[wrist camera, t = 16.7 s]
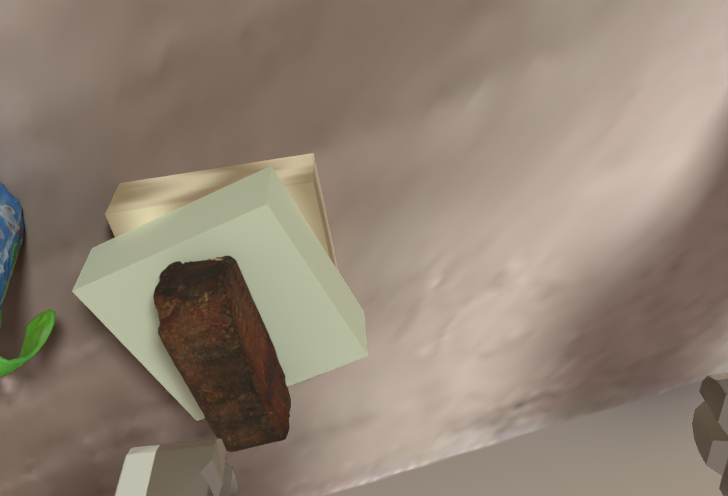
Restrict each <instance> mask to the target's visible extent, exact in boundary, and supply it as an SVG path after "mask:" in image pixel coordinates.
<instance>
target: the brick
mask: <svg viewBox="0 0 728 496" xmlns="http://www.w3.org/2000/svg"><path fill="white" fill-rule="evenodd" d="M159 280H160V281H159V283H158V284H157V286H156V287H155V291H154V295H153V298H154V304H155V308H156V309H157V311H158V317H159V321H160V325H159V327H158V334H159V336H160V339H161V341H162V343H163V345H164V347H165V348H166V350H167V352H168V354H169V355H170V357H171V359H172V361H173V363H174V365H175V366H176V368H177V370H178V371H179V373H180V374H181V376H182V378H183V380H184V381H185V383H186V385H187V386H188V388H189V390H190V392H191V393H192V395H193V397H194V399H195V400H196V402H197V404H198V406H199V408H200V409H201V411H202V412H203V414H204V416H205V418H206V419H207V421H208V422H209V424H210V428H211V429H212V430H213V432H214V433H215V434H216V436H217V438H218V439H222V441H223V444H224V446H225V448H226V450H227V451H230V452H234V451H239V450H243V449H247V448H251V447H255V446H259V445H263V444H267V443H272V442H277V441H281V440H284V439H286V437H287V434H288V431H289V417H290V414H289V411H290V407H291V399H290V395H289V391H288V387H287V386H286V381H285V377H286V376H285V374H284V372H283V369H282V367H281V365H280V363H279V360H278V357H277V354H276V351H275V347H274V345H273V343H272V340H271V338H270V336H269V333H268V331H267V329H266V326H265V324H264V322H263V320H262V318H261V315H260V313H259V311H258V309H257V307H256V304H255V302H254V300H253V298H252V296H251V293H250V291H249V288H248V286H247V284H246V282H245V280H244V277H243V275H242V273H241V270H240V268H239V266H238V263H237V261H236V260H235V259H234V258H232V257H231V256H223V257H217V258H213V259H208V260H202V261H194V262H193V261H190V262H185V263H184V264H183V263H181V262H180V261H177V262H174V263H171V264H170V265H168V266H167V267H166V269H164V270H163V271H162V272H161V273H160V276H159Z"/></svg>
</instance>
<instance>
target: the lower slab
mask: <svg viewBox="0 0 728 496" xmlns="http://www.w3.org/2000/svg"><path fill="white" fill-rule="evenodd" d="M270 166H272V168H273V169H274V171H275V172H276V174H277V176H278V177H279V179H280V180H281V182H282V183H283V185H284V187H285V188H286V190H287V191H288V193H289V194H290V196H291V198H292V199H293V201H294V202H295V204H296V206H297V207H298V209H299V210H300V212H301V213H302V215H303V217H304V218H305V220H306V221H307V223H308V224H309V226H310V228H311V229H312V231H313V232H314V234H315V235H316V237H317V239H318V240H319V242H320V243H321V245H322V247H323V248H324V250H325V251H326V253H327V254H328V256H329V258H330V259H331V261H332V262H333V264H334V265H335V267H336V269H337V270H338V267H337V262H336V258H335V253H334V248H333V243H332V239H331V234H330V229H329V224H328V219H327V215H326V210H325V205H324V200H323V196H322V191H321V186H320V181H319V176H318V172H317V167H316V162H315V157H314V153H311V154H305V155H298V156H292V157H286V158H279V159H273V160H267V161H260V162H254V163H247V164H241V165H235V166H228V167H222V168H215V169H209V170H203V171H196V172H190V173H183V174H177V175H171V176H164V177H158V178H151V179H145V180H139V181H132V182H126V183H119V185H118V188H117V190H116V192H115V194H114V196H113V198H112V200H111V202H110V204H109V207H108V209H107V211H106V213H105V216H106V218H107V220H108V222H109V225H110V227H111V229H112V232H113V234H114V236H115V237H117V236H119V235H122V234H124V233H126V232H128V231H130V230H132V229H135V228H137V227H139V226H141V225H143V224H146V223H148V222H150V221H152V220H154V219H156V218H159V217H161V216H163V215H165V214H167V213H169V212H172V211H174V210H176V209H178V208H180V207H183V206H185V205H187V204H189V203H191V202H193V201H196V200H198V199H200V198H202V197H204V196H206V195H209V194H211V193H213V192H215V191H217V190H219V189H222V188H224V187H226V186H228V185H230V184H233V183H235V182H237V181H239V180H241V179H243V178H246V177H248V176H250V175H252V174H254V173H256V172H259V171H261V170H263V169H265V168H267V167H270Z"/></svg>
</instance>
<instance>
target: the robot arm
mask: <svg viewBox="0 0 728 496" xmlns="http://www.w3.org/2000/svg"><path fill="white" fill-rule="evenodd" d="M700 393H701V395H702V396H703V398H704V400H705V401H704V402H703V403H702V404H701V405H700V406H699V407H698V408H696V409H695V412H694V417H693V423H692V425H693V432H694V439H695V442H696V445H697V448H698V450H699V453H700V455H701V456H702V458H703V460H704V462H705V464H706V465H707V466H708V467H710V468H711V469H713V470H714V471H716V472H718V473H719V474H721V475H722V479H721V483H720V488H719V489H720V490H721V492H722V494H723V495H724V496H728V373H724V374H717V375H710V376H707V377H706V378H705V379H704V380H703V381H702V384H701V388H700ZM226 452H227V451H226V448H225V446H224V444H223V441H222V439H209V440H199V441H189V442H179V443H169V444H161V445H152V446H143V447H134V448H131V449H130V451H129V452H128V454H127V455H126V457H125V460H124V463H123V467H122V470H121V474H120V478H119V481H118V485H117V488H116V492H115V495H114V496H239V490H238V484H237V479H236V475H235V472H234V469H233V467H231V466H229V465H228V464H226V463H225V461H226Z"/></svg>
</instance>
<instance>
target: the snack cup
mask: <svg viewBox="0 0 728 496" xmlns="http://www.w3.org/2000/svg"><path fill="white" fill-rule="evenodd" d="M23 232H24V223H23V219H22V207H21V205H20V203H19V201H18V199H17V198H14V197H13V196H12V194H11V193H10V192H9V191H8V190H7V189H6V188H5V186H4V185H3V184H1V183H0V328H1V321H2V313H1V306H2V304H3V301H4V299H5V296H6V293H7V290H8V285H9V282H10V279H11V277H12V274H13V270H14V267H15V264H16V261H17V257H18V252H19V250H20V247H21V244H22V240H23ZM54 324H55V312H54V311H52V310H51V309H49V310H47V311H44V312H42V313H41V314H40V315H38V316H37V317H35V318H34V319H33V320H32V321H31V322H30V323H29V324H28V326H27V327H26V335H25V338H24V342H23V345H22V349H21V352H20V356H19V358H14V359H10V360H8V359H5V358H3V357H1V356H0V377H3V376H5V375H7V374H9V373H11V372H13V371H15V370H16V369H17V368H19V367H20V366H21V365H23V364H25V363H26V362H28V361H29V360H30V359H31V358H32V357H33V356H34V355H36V353H37V352H38V351H39V350H40V349H41V347H42V346H43V345H44V343H45V342H46V340H47V339H48V337H49V335H50V333H51V331H52V329H53V326H54Z"/></svg>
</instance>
